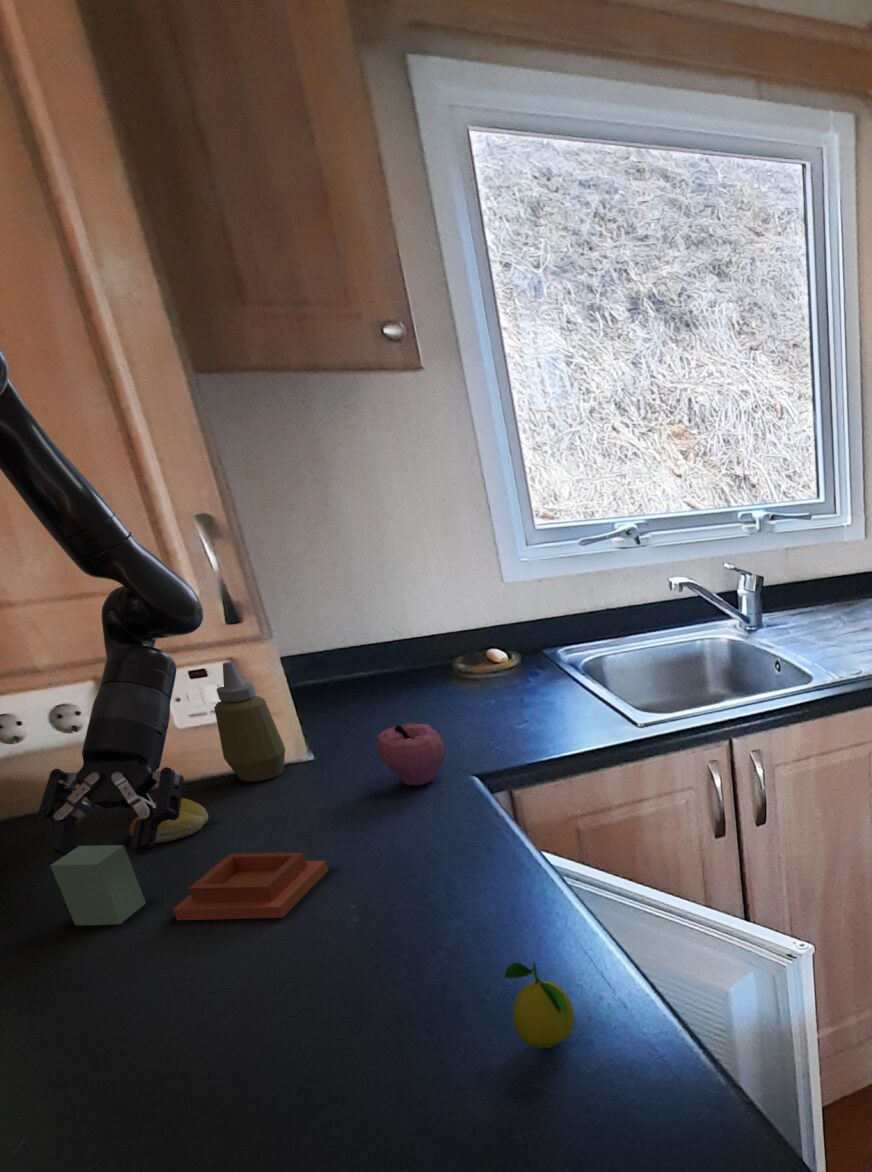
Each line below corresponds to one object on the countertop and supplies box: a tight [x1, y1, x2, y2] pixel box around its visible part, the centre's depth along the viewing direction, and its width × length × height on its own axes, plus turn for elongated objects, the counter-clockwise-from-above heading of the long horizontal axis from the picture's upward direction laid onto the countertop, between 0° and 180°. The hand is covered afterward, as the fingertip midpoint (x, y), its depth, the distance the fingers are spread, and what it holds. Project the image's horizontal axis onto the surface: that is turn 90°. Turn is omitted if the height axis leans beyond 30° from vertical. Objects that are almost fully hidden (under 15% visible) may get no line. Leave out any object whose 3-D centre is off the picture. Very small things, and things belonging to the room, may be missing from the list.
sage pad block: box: [49, 844, 147, 927], centre depth 123 cm, size 5×5×8 cm
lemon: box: [504, 960, 575, 1049], centre depth 102 cm, size 7×6×10 cm
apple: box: [375, 722, 446, 787], centre depth 159 cm, size 10×9×10 cm
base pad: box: [172, 852, 329, 921], centre depth 129 cm, size 12×12×4 cm
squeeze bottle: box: [213, 661, 286, 782], centre depth 159 cm, size 8×8×18 cm
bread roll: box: [129, 797, 209, 844], centre depth 144 cm, size 8×9×4 cm
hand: (101, 853), depth 123 cm, fingers open, 8 cm apart
